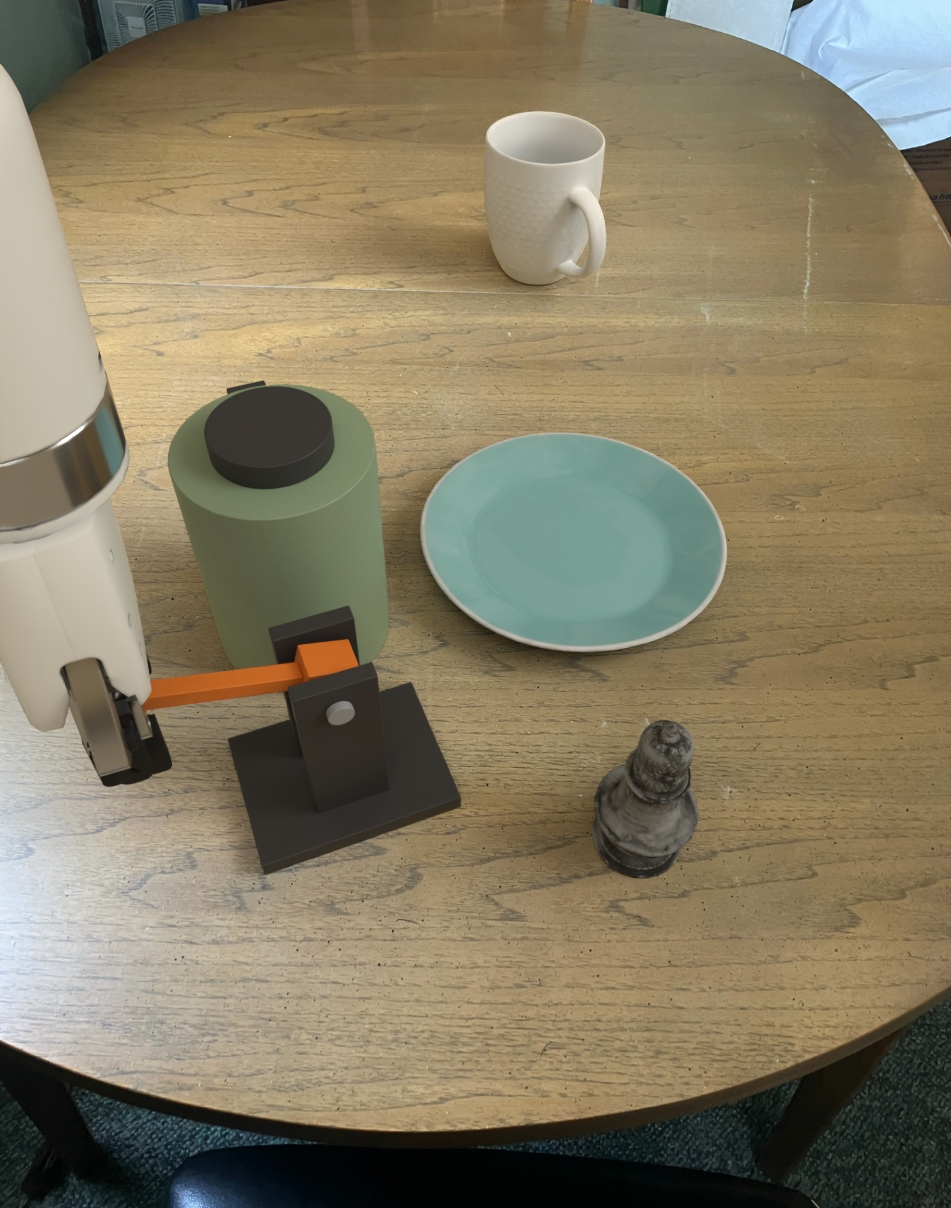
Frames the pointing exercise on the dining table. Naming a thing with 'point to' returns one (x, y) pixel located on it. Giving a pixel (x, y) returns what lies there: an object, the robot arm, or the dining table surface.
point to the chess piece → (647, 804)
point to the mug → (544, 195)
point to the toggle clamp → (338, 757)
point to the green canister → (282, 514)
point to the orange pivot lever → (249, 678)
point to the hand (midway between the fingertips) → (128, 722)
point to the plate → (573, 542)
